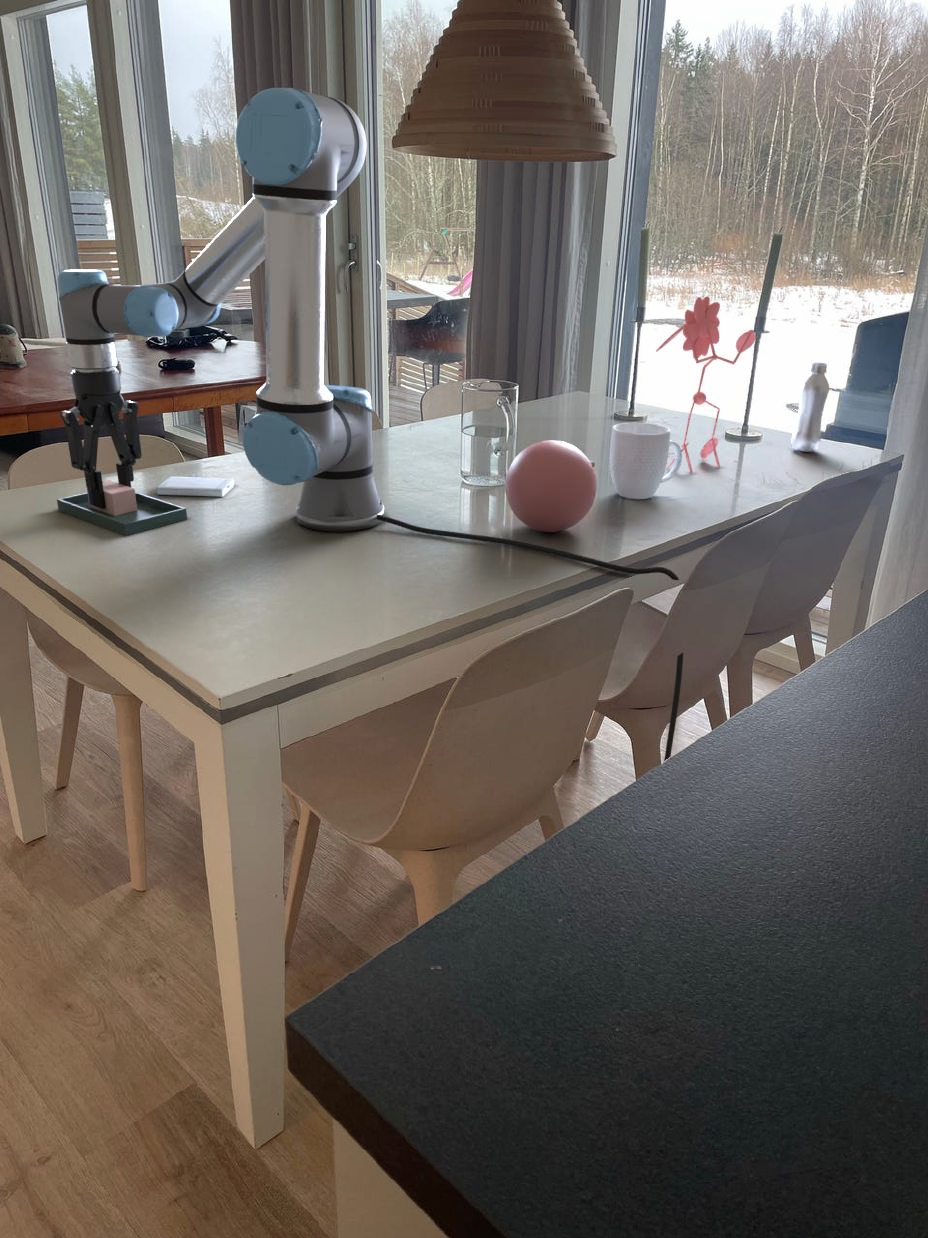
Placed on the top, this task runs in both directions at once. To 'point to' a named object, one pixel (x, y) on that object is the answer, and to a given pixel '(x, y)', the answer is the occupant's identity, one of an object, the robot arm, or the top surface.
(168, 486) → the hard drive
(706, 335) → the figurine
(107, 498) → the eraser
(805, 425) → the plastic bottle
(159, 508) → the tray
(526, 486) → the balloon
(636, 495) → the mug
